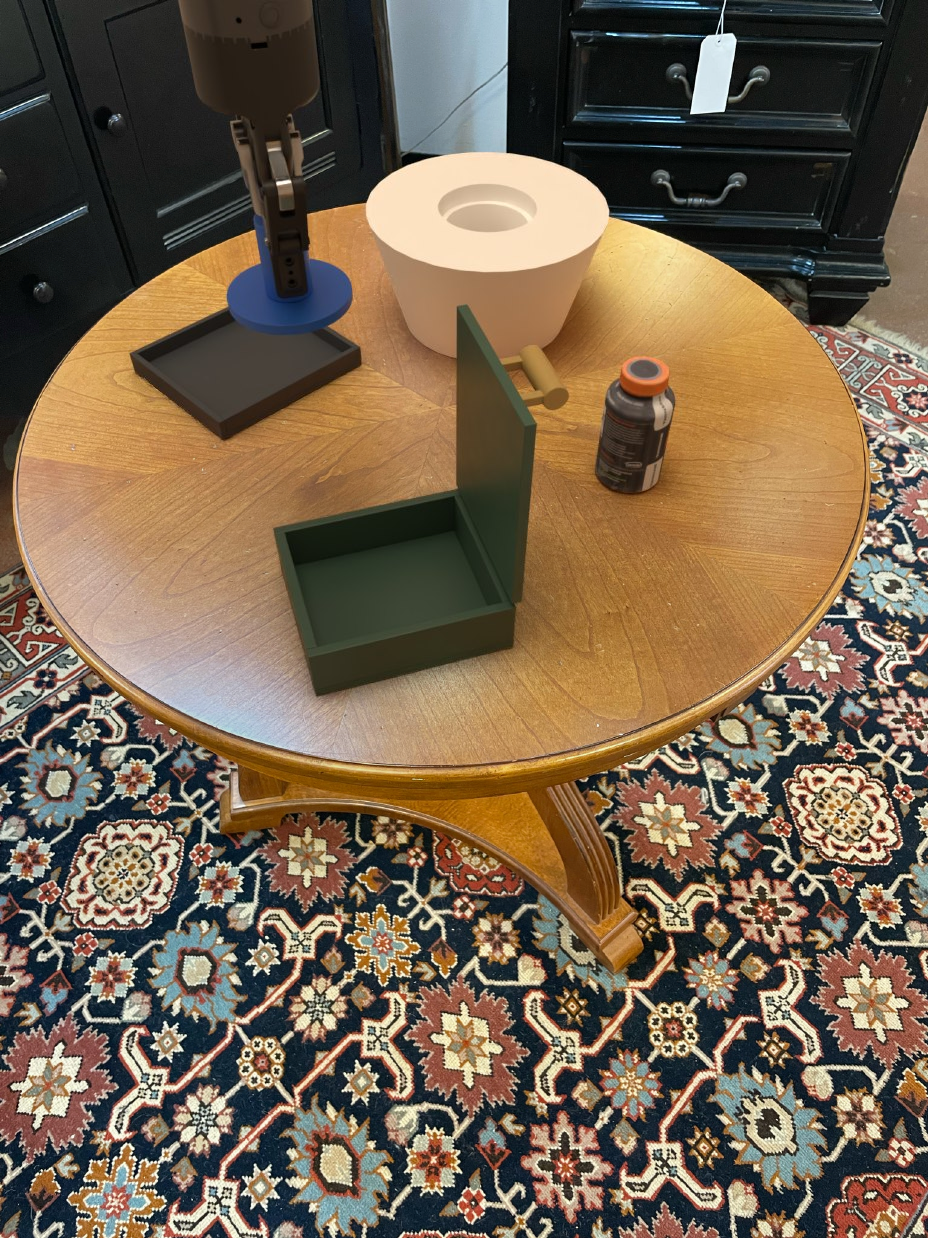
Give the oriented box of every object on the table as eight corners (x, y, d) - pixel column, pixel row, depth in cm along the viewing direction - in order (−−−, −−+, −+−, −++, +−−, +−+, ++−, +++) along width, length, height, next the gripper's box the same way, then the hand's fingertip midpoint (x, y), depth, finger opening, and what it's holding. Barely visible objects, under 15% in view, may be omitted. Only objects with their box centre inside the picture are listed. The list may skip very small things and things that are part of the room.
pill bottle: (671, 485, 86) (696, 381, 77) (613, 502, 85) (631, 397, 76) (639, 445, 90) (659, 341, 81) (583, 460, 88) (597, 356, 80)
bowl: (515, 237, 114) (520, 133, 105) (640, 336, 101) (659, 228, 92) (334, 293, 106) (323, 186, 97) (446, 410, 93) (445, 299, 84)
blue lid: (278, 351, 65) (264, 266, 61) (203, 298, 70) (184, 215, 65) (378, 300, 69) (372, 217, 65) (301, 253, 74) (291, 172, 69)
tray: (223, 440, 90) (219, 422, 88) (134, 370, 96) (128, 352, 95) (362, 364, 97) (360, 346, 96) (270, 304, 104) (267, 287, 103)
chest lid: (524, 426, 57) (598, 411, 58) (456, 305, 66) (522, 294, 67) (511, 604, 70) (572, 589, 71) (455, 484, 78) (511, 472, 79)
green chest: (315, 696, 71) (308, 657, 67) (280, 568, 79) (272, 527, 75) (513, 647, 74) (516, 607, 70) (460, 528, 82) (460, 487, 79)
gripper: (168, -27, 59) (221, 238, 72) (195, 60, 50) (250, 344, 63) (289, -38, 60) (319, 224, 73) (336, 45, 51) (361, 325, 65)
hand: (287, 278), depth 68 cm, fingers closed on blue lid, 3 cm apart
